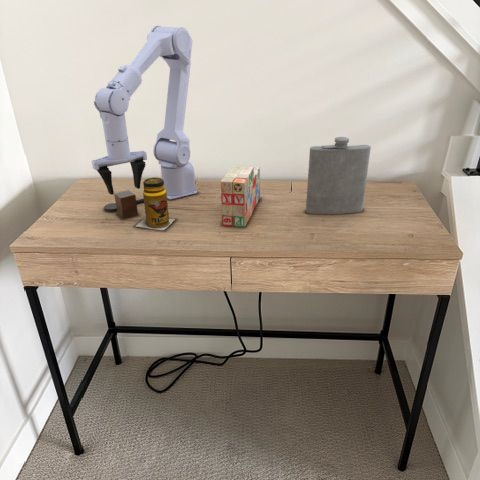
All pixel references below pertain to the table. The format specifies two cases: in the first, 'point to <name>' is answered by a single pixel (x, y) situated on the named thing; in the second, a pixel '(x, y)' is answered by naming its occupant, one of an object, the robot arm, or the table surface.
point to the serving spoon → (112, 206)
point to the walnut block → (126, 204)
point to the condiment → (155, 205)
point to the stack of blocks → (239, 195)
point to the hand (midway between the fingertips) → (124, 190)
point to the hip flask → (337, 178)
